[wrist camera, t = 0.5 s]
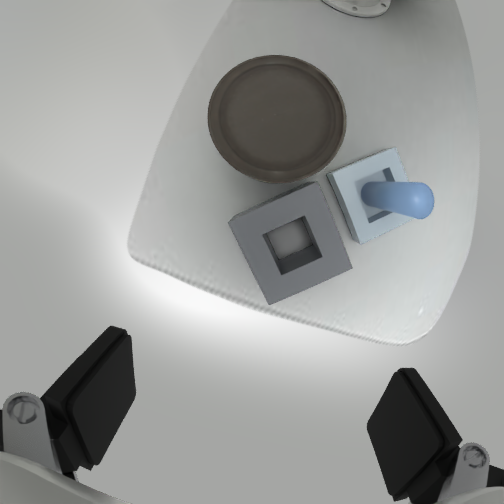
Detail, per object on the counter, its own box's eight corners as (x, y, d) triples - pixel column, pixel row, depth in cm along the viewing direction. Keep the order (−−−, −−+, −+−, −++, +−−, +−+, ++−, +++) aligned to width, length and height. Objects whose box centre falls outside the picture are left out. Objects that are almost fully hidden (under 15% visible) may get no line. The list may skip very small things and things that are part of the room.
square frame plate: (385, 149, 31) (395, 147, 28) (409, 212, 33) (419, 215, 30) (326, 174, 33) (332, 173, 30) (353, 239, 34) (360, 244, 31)
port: (308, 182, 33) (317, 181, 27) (338, 254, 35) (352, 268, 29) (234, 216, 34) (227, 222, 29) (268, 286, 36) (268, 305, 30)
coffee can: (268, 200, 34) (271, 212, 20) (212, 139, 32) (179, 111, 19) (331, 148, 32) (373, 127, 18) (276, 87, 30) (282, 33, 17)
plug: (378, 177, 32) (427, 177, 20) (386, 201, 32) (437, 211, 21) (357, 186, 32) (400, 190, 21) (366, 210, 33) (411, 224, 21)
